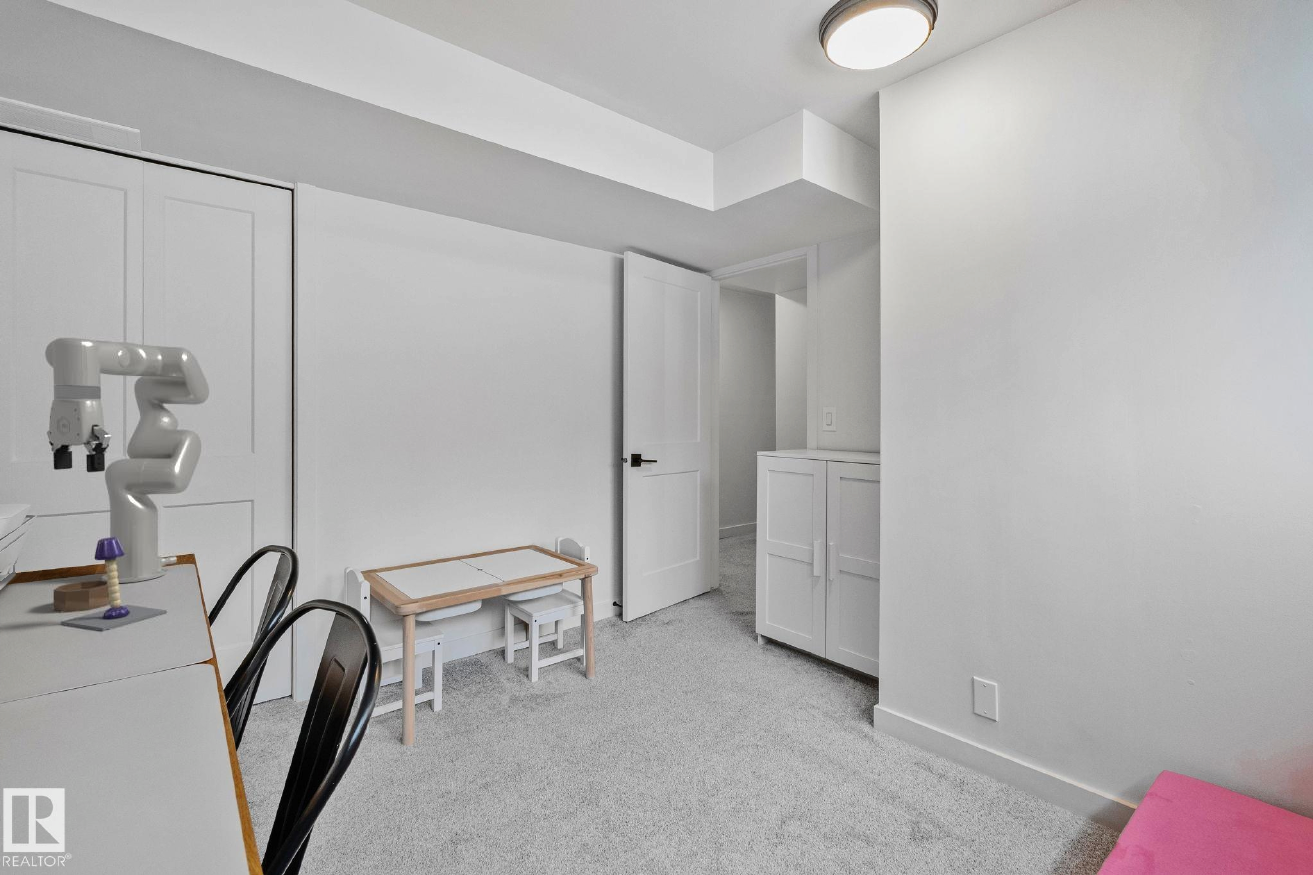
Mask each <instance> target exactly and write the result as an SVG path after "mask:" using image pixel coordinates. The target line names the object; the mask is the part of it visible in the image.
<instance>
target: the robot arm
mask: <svg viewBox="0 0 1313 875" xmlns="http://www.w3.org/2000/svg"><path fill="white" fill-rule="evenodd" d="M44 355H45V361H46V362H47V363H48V365H49V366H51V367H52V368H53V370H52V371H53V400H52V403H51V408H50V414H49V428H48V430H47V432H46V435H47V438H48V441H49V442H48V443H49V444H50V446H51V450H50V451H51V452H52V454H53V455H52V456H53V469H54V470H57V471H59V470H60V471H61V470H67V469H68V470H69V469H72V468H73V451H72V450H71V448H72V447H73V446H74V447H75V446H76V447H77V446H82V445H83V446H84V448H85V449H86V451H87V453H88V454H85V457H86V461H85V462H86V472H87V473H97V472H98V473H100V472H104V480H105V485H106V489H107V494H108V500H109V521H110V522H109V527H110V528H109V531H110V533H109V536H110V537H116V538H117V539H118V541H119V543H120V545H121V547H122V549H123V551H124V555H123V556H121V557H118V558H116V566H117V570H116V572H117V573H118V577H117V579H118V581H119V584H123V583H134V582H143V581H147V580H148V581H149V580H153V579H156V578H160V577H162V576H163V575H165V574H166V569H165V568H163V567H165V565H171V564H176V563H177V561H178V560H177V557H176V556H175V555H172V556H167V557H163V556H158V552H159V548H158V546H159V544H158V543H159V541H158V540H159V538H158V537H159V534H158V532H159V530H158V529H159V527H158V526H159V522H158V520H159V510H158V508H157V505H156V504H155V503H154V501H153V500H152V499H151V498H150V497H149V495H174V494H180V493H182V492H185V491H186V490H187V488H188V487H189V485H190V483H191V482H192V481H191V480H192V478H193V476H194V473H195V470H196V468H197V464H198V462H199V460H200V457H201V454H202V441H201V437H200V436H199V435H198V433H196V432H195V431H192V430H189V429H178V427H179V420H178V419H177V418H176V416H175V415H174V414H173V413H172V411H171V410H169V409H168V408H167V407H165V405H187V406H188V405H190V406H191V405H193V406H194V405H196V406H197V405H200V404H203V403H205V402H206V401H207V400H208V398H209V395H210V389H209V388H210V387H209V383H208V382H207V378H206V377H205V374H204V373H203V370H202V367H201V365H200V364H199V362H198V360H197V359H196V357H195V355H194V354H193V353H192V352H191V351H190V350H189V349H188V348H185V347H177V346H162V345H161V346H160V345H147V344H139V343H133V342H122V341H121V342H119V341H110V340H109V341H107V340H93V339H87V338H75V337H58V338H55V339H54V340H51V342H49V344H47V346H46V347H45V353H44ZM101 374H102V375H109V376H110V375H111V376H123V377H139V378H137V379H136V381H135V383H134V387H133V389H134V392H133V393H134V396H135V402H136V404H137V409H138V411H139V417H140V418H139V420H138V424H136V425H137V426H135V429H134V431H133V433H132V436H131V438H130V439H129V441H128V443H127V446H126V447H127V449H126V453H127V457H129V458H121V459H117V460H115V461H113V462H111V463H110V464H109V465H108V466H107V467H106V464H105V463H106V462H105V461H106V458H105V457H106V456H105V454H107V452H108V451H107V450H108V448H109V447H110V446H109V445H110V441H111V439H112V435H111V434H110V433H108V432H107V431H106V430H105V420H104V418H105V417H104V412H103V406H102V402H101V401H102V400H101V399H102V398H101V397H102V395H101V394H102V393H101V392H102V389H101V388H102V387H101V384H102V383H101ZM110 537H109V538H110ZM106 575H107V573H106V574H103V575H102V576H101V580H108V579H107V577H106Z"/></svg>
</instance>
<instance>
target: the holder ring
mask: <svg viewBox="0 0 1313 875" xmlns="http://www.w3.org/2000/svg"><path fill="white" fill-rule="evenodd" d="M107 581H108V580H102V579H94V580H93V579H92V580H81V581H76V582H71V583H66V584H62V585H59V586H58V587H56V588H55V589H53V611H54V612H61V611H62V612H63V613H71V612H72V611H73V612H81V611H90V610H93V609H98V608H102V606H103V607H105V606H110V602H111V601H110V599H109V595H110V594H109V592H108V588H109V586H108V585H107Z"/></svg>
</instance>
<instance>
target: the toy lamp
mask: <svg viewBox="0 0 1313 875" xmlns="http://www.w3.org/2000/svg"><path fill="white" fill-rule="evenodd" d="M123 555H124V551H123V549H122V547H121V545H120V543H119V541H118V539H117V538H116V537H105V538H100V539H98V541H97V544H96V548H95V553H94V560H96V561H104V565H105V572H106V574H107V575H106V577H107V579H108V581H107V585H108V586H109V588H108V592H109V594H110V595H109V599H110V601H111V602H110V604H109V607H110V608H108V609H106V610H107V611H106V612H105V613H104V615H103V619H114V618H119V617H123V616H126V615H128V614H129V613H130V611H129V609H128V608H127V607H124V605H122V601H121V593H120V586H119V584H120V583H119V581H118V579H117V577H118V573H117V572H116V570H117V566H116V558H118V557H121V556H123Z"/></svg>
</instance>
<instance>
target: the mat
mask: <svg viewBox="0 0 1313 875" xmlns="http://www.w3.org/2000/svg"><path fill="white" fill-rule="evenodd" d="M123 606H124V607H127V608H128V609H129V611H130V613H129V614H128V615H126V616H123V617H119V618H114V619H103V615H104V613H105V612H106V611H107V610H108V609H105V610H100V611H97V612H93V613H88V614H85V615H82V616H78V617H74V618H70V619H67V620H61V621H60V622H61V623H60V625H62V624H66V625H65V626H68V625H70V627H74V626H77V627H76V628H80V627H82V628H81V629H87V628H89V629H88V630H93V629H97V630H96V631H99V630H100V631H99V632H104V631H108V630H107V629H109V630H111V628H112V629H116V628H120V627H123V626H126V625H130V624H133V623H137V622H140V621H144V620H147V619H151V618H154V617H158V616H162V615H165V614H167V613H168V612H167V609H166V610H165V609H162V608H161V609H159V608H152V607H146V606H139V605H130V604H124V605H123Z"/></svg>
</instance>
